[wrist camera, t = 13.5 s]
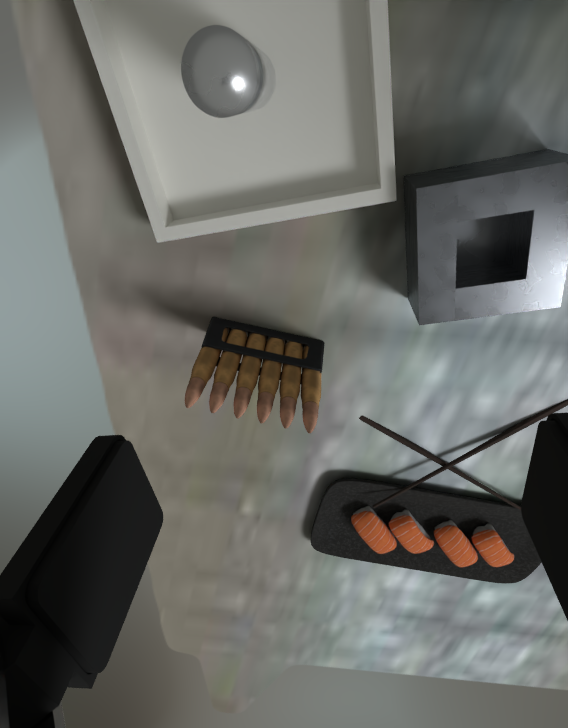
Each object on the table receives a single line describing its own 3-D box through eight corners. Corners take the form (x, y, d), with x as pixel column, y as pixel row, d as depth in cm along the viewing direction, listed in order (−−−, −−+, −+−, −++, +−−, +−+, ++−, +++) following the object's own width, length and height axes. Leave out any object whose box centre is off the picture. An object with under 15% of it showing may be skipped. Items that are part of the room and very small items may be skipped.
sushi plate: (305, 538, 57) (304, 565, 54) (366, 350, 41) (369, 373, 37) (514, 573, 58) (526, 602, 54) (655, 403, 41) (684, 430, 38)
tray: (372, -157, 23) (379, -187, 20) (390, 192, 32) (396, 200, 30) (72, -64, 26) (45, -80, 23) (168, 231, 35) (157, 242, 33)
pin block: (548, 149, 30) (585, 158, 26) (531, 281, 35) (560, 307, 31) (403, 175, 32) (416, 188, 27) (407, 298, 37) (419, 325, 33)
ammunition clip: (324, 341, 40) (326, 425, 30) (319, 357, 41) (319, 444, 31) (212, 316, 39) (174, 394, 29) (209, 333, 40) (173, 414, 30)
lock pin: (269, 39, 27) (247, 16, 19) (280, 104, 29) (264, 109, 21) (216, 52, 28) (170, 35, 19) (229, 115, 30) (193, 124, 21)
